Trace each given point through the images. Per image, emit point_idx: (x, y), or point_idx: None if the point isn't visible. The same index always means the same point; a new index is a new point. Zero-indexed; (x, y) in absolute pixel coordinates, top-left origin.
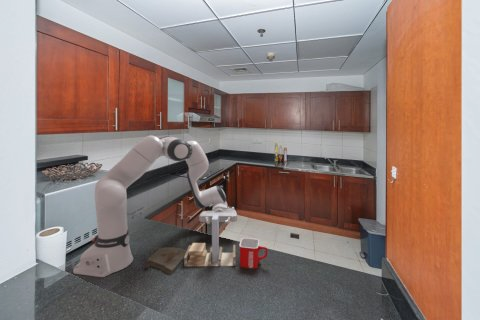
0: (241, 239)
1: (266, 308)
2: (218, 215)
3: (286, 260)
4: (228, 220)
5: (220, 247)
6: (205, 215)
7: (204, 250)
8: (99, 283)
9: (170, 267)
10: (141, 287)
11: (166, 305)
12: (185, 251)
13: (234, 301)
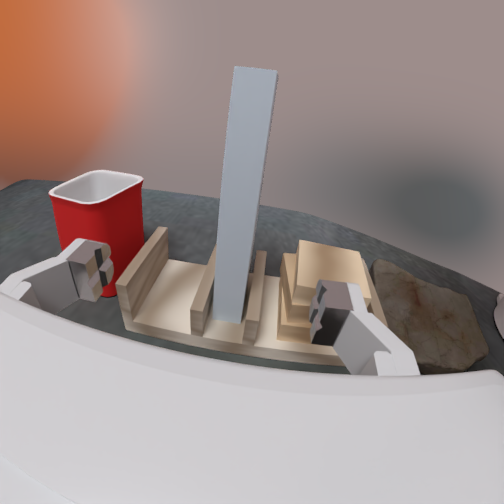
0: (106, 198)
1: (151, 195)
2: (235, 70)
3: (3, 260)
4: (57, 268)
5: (200, 305)
6: (449, 383)
7: (292, 278)
8: (487, 286)
9: (386, 264)
10: (413, 266)
11: (337, 227)
12: None
13: (201, 208)
